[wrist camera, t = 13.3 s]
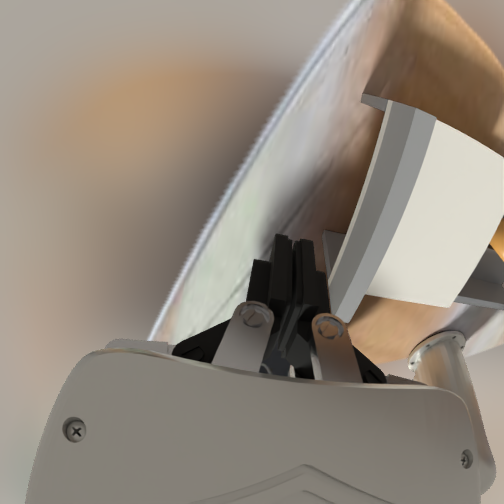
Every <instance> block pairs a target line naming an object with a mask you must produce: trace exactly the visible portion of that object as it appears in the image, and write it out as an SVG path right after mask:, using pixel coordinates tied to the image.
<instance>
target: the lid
mask: <svg viewBox="0 0 504 504" xmlns="http://www.w3.org/2000/svg"><path fill="white" fill-rule="evenodd" d="M436 118H437V117H435V116H433V115H431V114H428V113H426V112H424V111H422V110H420V109H417V108H415V107H411V106H408V105H405V104H402V103H398V102H395V101H391V100H388V103H387V107H386V111H385V115H384V119H383V122H382V126H381V130H380V133H379V137H378V140H377V144H376V147H375V151H374V154H373V157H372V161H371V164H370V167H369V170H368V173H367V176H366V180H365V183H364V186H363V189H362V192H361V195H360V198H359V200H358V203H357V206H356V209H355V212H354V215H353V218H352V220H351V223H350V226H349V228H348V231H347V234H346V236H345V239H344V242H343V244H342V247H341V250H340V252H339V255H338V257H337V260H336V262H335V265H334V267H333V270H332V272H331V274H330V277H329V279H328V286H329V294H330V303H331V313H332V314H333V315H335V316H337V317H339V318H340V319H341V320H342V321H343V322H346V323H349V322H350V320H351V318H352V316H353V315H354V313H355V311H356V309H357V308H358V306H359V304H360V302H361V300H362V299H363V297H364V295H365V294H366V295H372V296H378V297H384V298H390V299H396V300H402V301H408V302H414V303H420V304H427V305H433V306H439V307H446V308H449V307H450V306H451V304H452V303H453V301H454V300H455V298H456V297H457V295H458V294H459V293H460V291H461V290H462V288H463V287H464V285H465V283H466V282H467V280H468V279H469V277H470V276H471V274H472V272H473V271H474V269H475V267H476V266H477V264H478V262H479V261H480V259H481V257H482V256H483V254H484V252H485V250H486V248H487V247H488V245H489V243H490V241H491V239H492V237H493V235H494V233H495V231H496V229H497V227H498V225H499V223H500V221H501V219H502V217H503V215H504V158H503V157H502V156H500V155H499V154H497V153H496V152H494V151H493V150H491V149H489V148H488V147H486V146H485V145H483V144H481V143H480V142H478V141H476V140H474V139H473V138H471V137H469V136H467V135H466V134H464V133H462V132H460V131H458V130H456V129H454V128H452V127H451V126H449V125H447V124H445V123H443V122H441V121H438V120H436Z"/></svg>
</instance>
